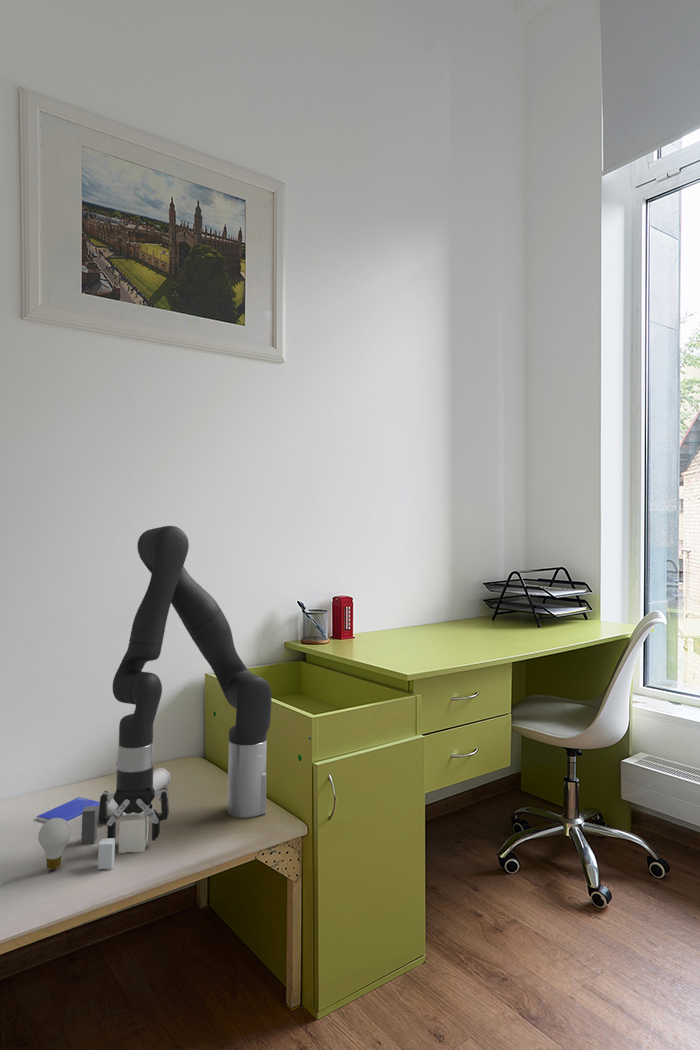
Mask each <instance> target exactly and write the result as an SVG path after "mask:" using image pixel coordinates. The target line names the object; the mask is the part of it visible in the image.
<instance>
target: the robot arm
mask: <svg viewBox="0 0 700 1050" xmlns="http://www.w3.org/2000/svg"><path fill="white" fill-rule="evenodd" d="M189 545H190V544H189V539H188V535H187V534H186V533H185V532H184V530H182V529H181V527H180V528H179V527H178V526H175V525H164V526H160V527H155V528H154V527H153V528H151V529H150V528H149V529H147V530H146V531H144V532H143V533H141V535H140V536H139V538H138V540H137V553H138V556H139V559H141V560H140V561H141V562H142V563H143V564H144V566H145V567H146V568H147V570H148V571H149V573H150V575H151V576H150V579H149V583H148V586H147V589H146V591H145V594H144V595H143V598H142V600H141V603H140V604H139V607H138V608H137V611H136V612H135V616H134V619H133V621H132V626H131V629H130V630H131V631H130V636H129V641H128V647H127V650H126V652H125V654H124V655H123V657H122V660H121V662H120V664H119V666H118V668H117V670H116V673H115V675H114V676H113V680H112V693H113V697H114V699H116V701H118V702H119V703H123V704H130V705H135V708H134V711H133V713H130V714H128V715H127V714H126V715H125V716H123V717H122V718H121V719H120V721H119V725H118V728H119V729H118V750H117V754H116V755H117V756H116V786H115V787H116V788H115V789H116V790H115V792H109V791H107V790H104V791H103V792H102V793H101V795H100V797H99V798H100V799H99V802H100V806H99V817H98V819H97V823H99V824H105V825H106V826H107V833H106V835H107V838H115V840H116V839H117V838H116V837H117V835H116V833H117V819H119V818H120V817H121V816H122V815H121V813H122V812H124V813H126V814H131V813H141V812H143V811H144V813H145V814H146V815H147V816H148V819H149V820H151V821H152V824H151V841H152V842H155V841H156V840H157V839H158V838H159V836H160V830H161V822H163V821H167V819H168V817H169V813H170V809H169V808H170V807H169V804H170V803H169V790H168V788H167V787H166V788H163V789H161V790H160V791H154V789H153V771H154V762H155V761H154V756H155V753H154V752H155V751H154V722H155V719H156V716H157V712H158V708H159V706H160V701H161V698H162V695H163V685H162V682H161V679H160V677H159V676H158V675H157V674H155V673H153V672H147V671H142V670H143V669H144V667H145V665H146V664H147V663H148V662H152V661H156V660H158V659H159V658H160V656H161V652H162V648H163V640H164V637H165V631H166V625H167V621H168V615H169V612H170V607H171V606H172V607H173V609H174V611H175V612H176V613H177V615H178V617H179V619H180V620H181V622H182V624H183V625H184V628H185V629H186V631H187V633H188V635H189V636H190V637H191V640H192V641H193V643H194V644H195V645H196V647H197V648H198V650H199V652H200V654H201V655H202V656H203V658H204V659H205V661H207V663H208V664H209V666H210V668H211V670H212V672H213V673H214V676H215V677H216V680H217V682H218V684H219V686H220V690H221V691H222V693H223V695H224V697H225V699H226V701H227V702H228V704H229V705H230V706H231V707H232V708H234V709H235V712H236V714H235V723H234V725H233V726H231V727H230V728H229V731H228V756H227V757H228V759H227V761H228V763H227V764H228V765H227V767H228V768H227V802H226V803H227V805H226V806H227V810H226V811H227V813H228V815H230V816H231V817H235V818H240V819H241V818H242V819H244V818H246V819H248V818H254V817H257V816H260V815H266V814H267V736H268V731H269V729H270V725H271V718H272V717H271V716H272V715H271V714H272V689H271V686H270V684H269V682H268V680H266V679H265V678H263V677H262V676H260V675H257V674H254V673H252V672H251V671H250V670H249V669H248V668H247V666H246V665H245V664H244V662H243V660H242V659H241V657H240V655H239V653H238V652H237V650H236V648H235V643H234V639H233V638H234V637H233V632H232V629H231V626H230V623H229V622H228V621H229V620H228V618H227V617H226V616H225V614H224V612H223V610H222V609H221V607H220V605H219V603H218V602H217V601H216V600H215V598H214V597H213V596H212V595H211V594H210V593H209V592H208V591H206V590H205V589H204V588H203V587H202V585H200V584H199V583H198V582H197V581H195V579H194V578H193V577H192V576H191V575H190V574H189V572H188V571H187V569H186V568H185V566H184V565H185V562H186V559H187V556H188V553H189V548H190V547H189ZM155 798H156V799H157V802H160V803H161V804H160V805H161V808H160V809H161V810H160V811H161V812H159V811H158V810H157V809H156V806H155V805H154V804H153V800H154V799H155ZM112 799H114V801H115V802H116V803H117V805H118V807H117V808H116V810H115V811H114V812H113V814H112V815H111V816H108V815H107V805H108V804H109V803H110V802H111V800H112ZM107 838H106V839H107Z"/></svg>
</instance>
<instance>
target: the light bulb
mask: <svg viewBox="0 0 700 1050" xmlns="http://www.w3.org/2000/svg"><path fill="white" fill-rule="evenodd" d="M71 834H72V829H71V826H70V823H68V822H67V821H66V820H64V819H62V818H53V819H50V820H48V821H47V822H44V823H43V824H42V826H41V828H40V829H39V832H38V835H37V837H38V843H39V844H40V847H42V849H43V852H44V854H45V857H46V868H47V869H48V870H49V871H52V870H53V871H56V870H57V869H58V868H60V867H61V865H62V857H63V856H62V855H63V853H64V850H65V847H66V845H67V843H68V842H69V840H70V838H71Z"/></svg>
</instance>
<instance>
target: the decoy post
mask: <svg viewBox="0 0 700 1050" xmlns="http://www.w3.org/2000/svg"><path fill="white" fill-rule="evenodd" d="M98 843H99V844H98V853H97V854H98V857H97V858H98V859H97V862H98V863H97V867H98V868H97V870H98V869H107V870H112V869H113V867H114V865H115V847H116V846H115V843H116V839H115V838H101V839H100V841H99V842H98ZM113 864H114V865H113Z"/></svg>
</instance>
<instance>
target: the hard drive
mask: <svg viewBox="0 0 700 1050" xmlns="http://www.w3.org/2000/svg"><path fill="white" fill-rule="evenodd" d="M99 804H100V801H97V800H94V799H89V798H85V797H80V796H78V797H76V798H74V799H72V800H70V801H67V802H66V803H63V804H61V805H59V806H56V807H54V808H52V809H49V810H47V811H44V812H43V813H41V814H39V815H36V821H41V822H44V823H45V822H47V821H48V820H50V819H53V818H62V819H64V820H66V821H67V822H68V824H70V823H71V822H73V821H76V820H77V819H79V818H82V811H83V809H84V808H85V807H88V806H99Z"/></svg>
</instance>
